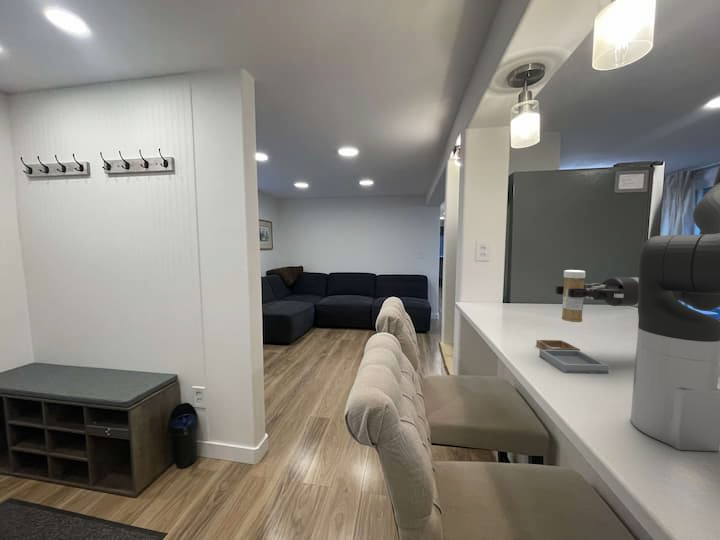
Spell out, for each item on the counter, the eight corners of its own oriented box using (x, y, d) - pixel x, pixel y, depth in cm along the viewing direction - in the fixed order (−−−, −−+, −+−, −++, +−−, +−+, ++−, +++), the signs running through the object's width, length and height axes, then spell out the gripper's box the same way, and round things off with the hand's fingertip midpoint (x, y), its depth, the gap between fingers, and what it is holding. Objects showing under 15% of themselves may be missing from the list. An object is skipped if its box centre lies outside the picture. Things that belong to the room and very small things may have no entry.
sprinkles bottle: (564, 317, 78) (566, 269, 77) (584, 320, 75) (587, 270, 74) (559, 320, 75) (561, 270, 74) (580, 323, 72) (583, 271, 71)
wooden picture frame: (579, 355, 81) (579, 349, 81) (551, 355, 82) (552, 348, 82) (561, 346, 89) (561, 340, 89) (536, 346, 90) (536, 339, 89)
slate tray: (608, 373, 70) (608, 365, 70) (564, 372, 71) (564, 364, 70) (577, 356, 81) (578, 350, 80) (539, 356, 81) (539, 349, 81)
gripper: (607, 274, 81) (546, 274, 82) (658, 280, 67) (583, 280, 67) (605, 300, 81) (545, 300, 82) (655, 311, 67) (581, 311, 68)
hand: (562, 291), depth 75 cm, fingers closed on sprinkles bottle, 4 cm apart
